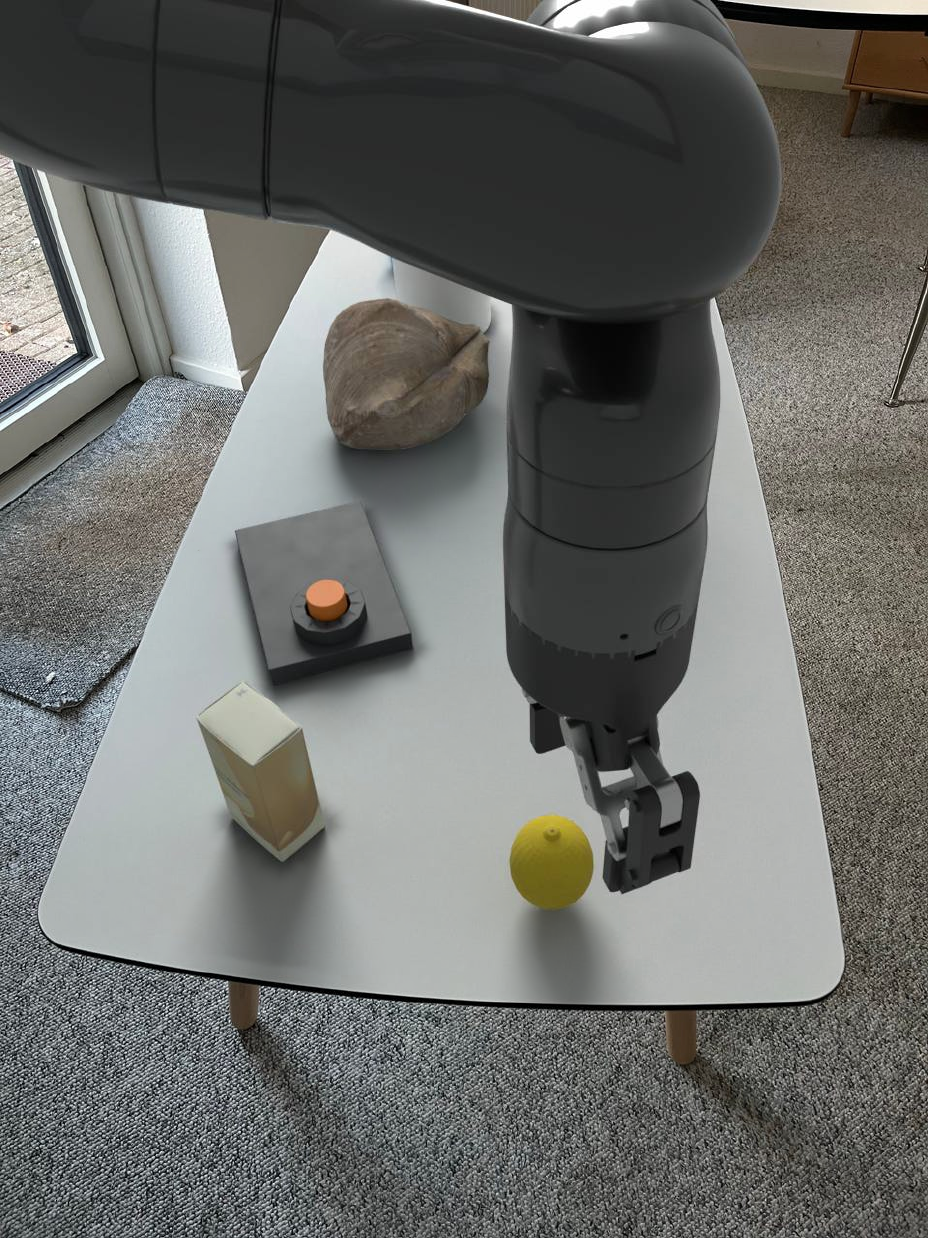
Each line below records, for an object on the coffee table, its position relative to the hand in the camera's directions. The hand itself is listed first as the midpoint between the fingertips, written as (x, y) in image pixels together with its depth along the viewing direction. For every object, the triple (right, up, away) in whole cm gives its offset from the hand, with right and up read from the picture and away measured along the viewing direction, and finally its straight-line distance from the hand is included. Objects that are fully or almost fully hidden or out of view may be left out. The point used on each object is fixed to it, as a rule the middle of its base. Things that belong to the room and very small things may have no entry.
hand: (587, 809), depth 53 cm
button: (-17, +10, +36) cm, 42 cm away
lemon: (0, -10, +21) cm, 23 cm away
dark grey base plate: (-19, +12, +42) cm, 47 cm away
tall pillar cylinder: (-8, +44, +72) cm, 85 cm away
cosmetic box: (-20, -6, +26) cm, 33 cm away
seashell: (-12, +30, +59) cm, 67 cm away
